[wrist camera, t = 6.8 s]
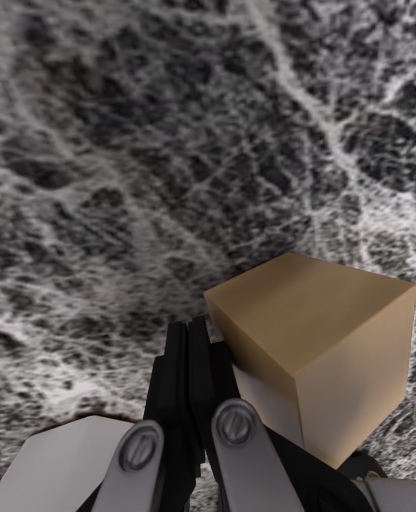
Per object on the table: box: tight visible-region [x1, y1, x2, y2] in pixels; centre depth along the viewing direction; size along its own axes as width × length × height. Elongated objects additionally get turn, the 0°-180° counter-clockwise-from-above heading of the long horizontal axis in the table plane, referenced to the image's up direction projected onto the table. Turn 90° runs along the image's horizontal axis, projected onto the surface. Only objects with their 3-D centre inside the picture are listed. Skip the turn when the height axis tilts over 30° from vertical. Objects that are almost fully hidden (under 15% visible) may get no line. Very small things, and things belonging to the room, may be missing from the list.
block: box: [203, 252, 416, 469], centre depth 8 cm, size 5×5×5 cm
